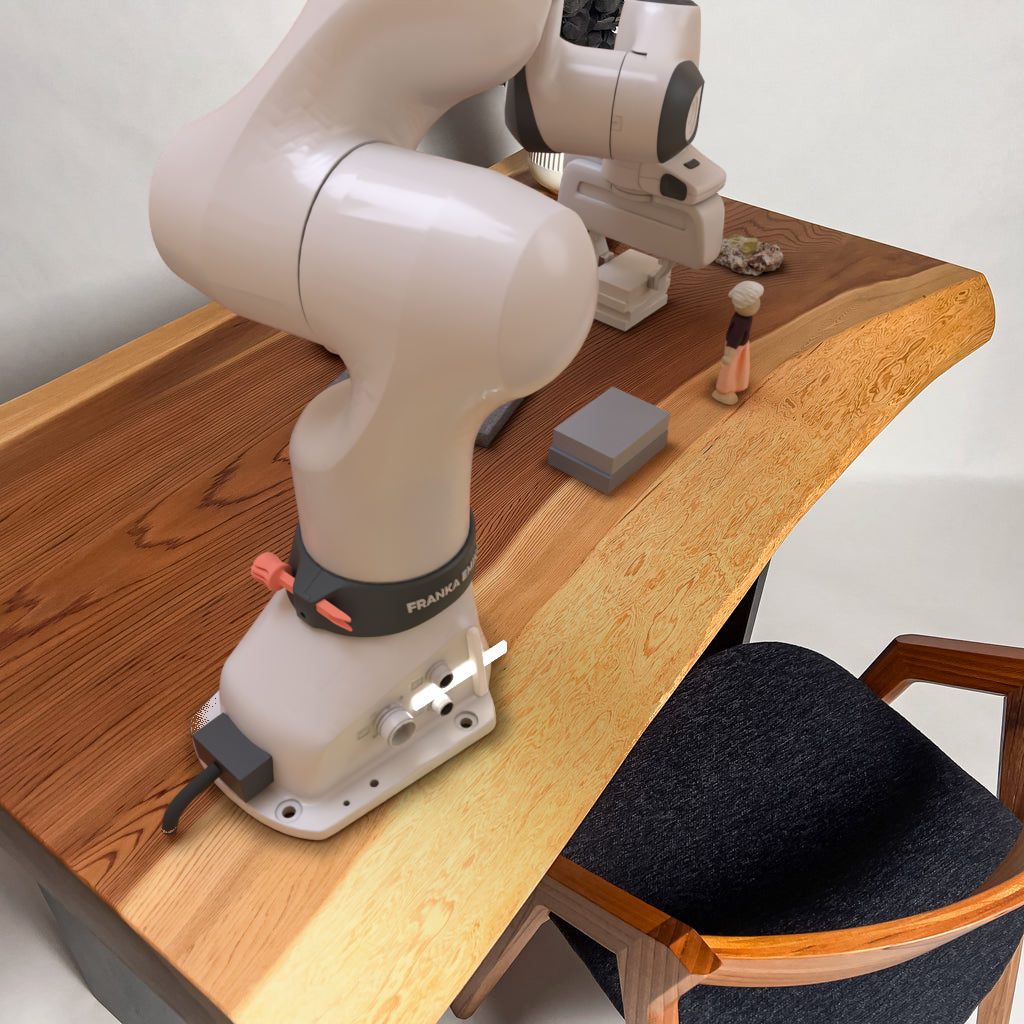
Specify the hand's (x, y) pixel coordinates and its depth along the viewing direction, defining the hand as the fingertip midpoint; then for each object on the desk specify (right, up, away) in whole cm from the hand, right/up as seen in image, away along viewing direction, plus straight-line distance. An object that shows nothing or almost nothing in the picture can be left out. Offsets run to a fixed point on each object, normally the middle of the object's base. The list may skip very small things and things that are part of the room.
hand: (629, 277), depth 112 cm
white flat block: (0, 0, 0) cm, 1 cm away
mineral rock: (+16, +5, +13) cm, 22 cm away
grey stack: (-4, -22, -19) cm, 29 cm away
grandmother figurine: (+9, -15, -10) cm, 20 cm away
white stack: (0, -3, +3) cm, 4 cm away
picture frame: (-22, -15, -12) cm, 29 cm away
